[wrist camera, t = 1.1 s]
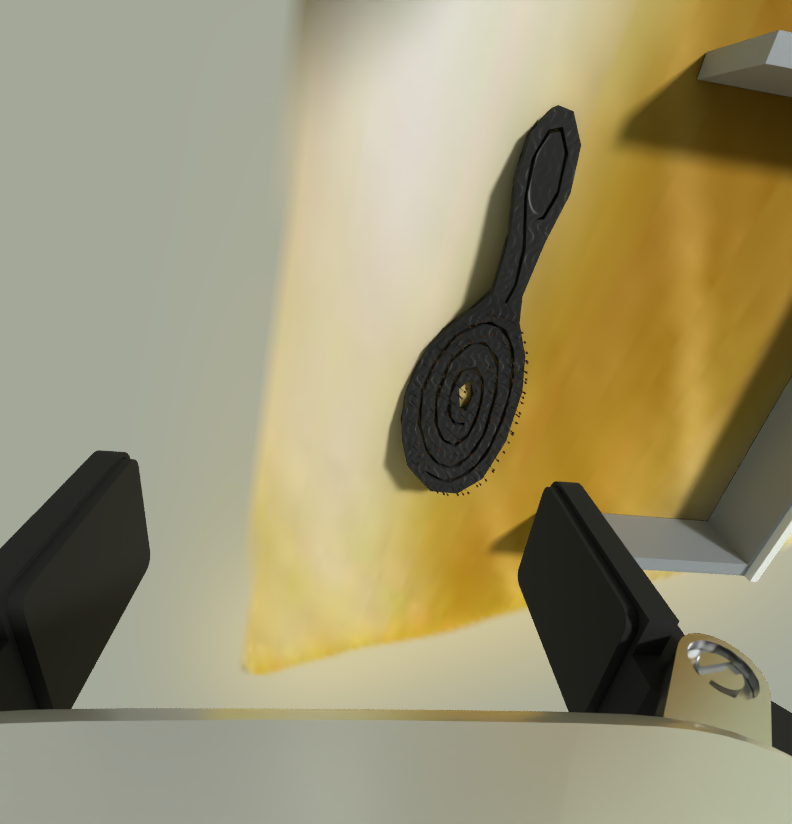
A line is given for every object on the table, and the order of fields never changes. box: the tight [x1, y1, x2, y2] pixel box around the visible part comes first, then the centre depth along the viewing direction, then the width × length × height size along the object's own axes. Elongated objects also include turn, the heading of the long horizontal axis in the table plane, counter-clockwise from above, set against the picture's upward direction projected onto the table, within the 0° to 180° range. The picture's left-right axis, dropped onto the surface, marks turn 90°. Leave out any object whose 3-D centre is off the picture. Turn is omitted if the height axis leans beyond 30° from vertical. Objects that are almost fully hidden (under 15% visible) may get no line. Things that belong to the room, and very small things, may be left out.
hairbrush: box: [401, 105, 581, 496], centre depth 30 cm, size 8×4×25 cm
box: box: [602, 30, 792, 582], centre depth 31 cm, size 32×16×6 cm, turn 172°
